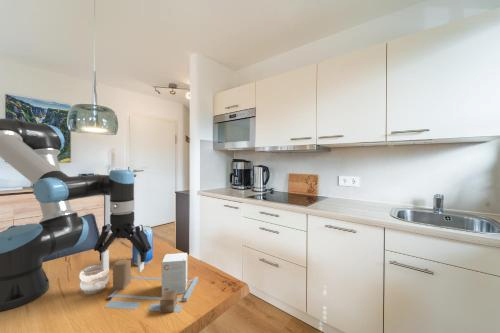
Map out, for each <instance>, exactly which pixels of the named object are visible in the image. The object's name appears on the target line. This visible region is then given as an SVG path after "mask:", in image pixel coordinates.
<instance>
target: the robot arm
mask: <svg viewBox="0 0 500 333" xmlns="http://www.w3.org/2000/svg"><path fill="white" fill-rule="evenodd" d="M65 142H66V141H65V136H64V134H63V133H62V131H61V130H60V129H59V128H58V127H56V126H55V125H52V124H47V123H42V122H32V121H25V120H19V119H13V118H0V158H1V159H2V160H3V161H5V162H6V163H7V164H8V165H9V166H11V167H12V168H13V169H14V170H15V171H17V172H18V173H20V174H21V175H22V176H23V177H24V178H25V179H26V180H28V181H29V182H31V183H32V184H33V188H32V192H33V196H35V200H36V201H38V202H39V207H40V210H41V214H42V218H41V219H40V220H39V222H38V223H37V222H36V223H27V224H21V225H20V224H19V225H16V226H13V227H10V228H7V229H4V230H2V231H0V312H1V311H2V312H3V311H7V310H11V309H15V308H17V307H21V306H23V305H26V304H28V303H30V302H33V301H34V300H37V299H38V298H40V297H41V296H43V295H44V294H46V293H47V292H48V291H49V288H50V280H49V278H48V276H47V274H46V272H45V270H44V269H43V268H44V267H43V259H44V258H46V257H50V256H52V255H55V254H58V253H60V252H64V251H66V250H69V249H73V248H75V247H77V246H79V245H81V244H82V243H83V242H85V241H86V239H87V237H88V234H89V232H90V230H89V228H90V227H89V223H88V221H87V219H85V217H83V216H79V215H78V212H77V211H75V210H73V209H72V208H71V204H70V201H71V200H76V199H83V198H84V199H85V198H90V197H97V196H109V211H110V212H109V213H110V214H109V223H110V224H109V223H107V224H105V225H102V227H101V233H100V235H99V237H98V239H97V242H96V244H95V246H94V247H93V251H94V252H96V251H97V252H98V253H99V261H100V262H101V272H104V271H105V270H107V269H109V268H110V250H109V249H108V248H109V247H110V245H111V244H112V243H113V242H114V241H115V240H116V239H122V240H123V239H127V241H129V242H130V243H131V245H132V246H133V245H134V246H135V248H136V249H137V250H138V251H139V254H138V266H137V273H141V272H142V271H143V270H144V269H145V265H144V261H145V260H146V252H148V251H149V250H150V249H151V246H150V243H149V241H148V239H147V237H146V235H145V233H144V231H143V226H144V225H143V224H139V225H135V224H134V223H135V177H134V171H133V170H131V169H112V170H110V171H109V173H108V174H99V173H98V174H97V173H95V174H88V175H75V176H68V175H67V174H66V173H64V172H63V171H62V170H61V167H60V163H59V160H58V156H59V155H60V154H61V151H62V150H63V149H64V147H65ZM134 231H135V232H136V234H137V236H138V238H139V239H138V238H137V236H136V234H135V232H134ZM110 232H112V233H111V234H110V235H109V233H110ZM108 236H109V237H108ZM107 237H108V238H107Z"/></svg>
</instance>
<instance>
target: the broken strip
mask: <svg viewBox="0 0 500 333" xmlns="http://www.w3.org/2000/svg"><path fill="white" fill-rule="evenodd" d="M140 304H141V302H136V301H135V302H134V301H122V300H121V301H120V300H119V301H118V300H110V301H109V302H108V303H107V304H106V305H105V306H104V308H106V309H107V308H108V309H109V308H110V309H122V310H124V309H125V310H136V309H137V308H138V307H139V306H140ZM183 306H184V305H182V304H176V307H175V310H174V312H173V313H180V312H181V310H182V308H183ZM147 311H154V312H155V311H157V312H160V303H154V302H153V303H152V304H151V305H150V306H149V308H147Z"/></svg>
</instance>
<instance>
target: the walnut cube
mask: <svg viewBox="0 0 500 333" xmlns="http://www.w3.org/2000/svg"><path fill="white" fill-rule="evenodd" d="M177 298H178V294H177V291H170V292H164V293H163V295H162V294H161V300H159V301H160V302H159V304H160V311H159V314H162V313H163V314H165V313H166V314H167V313H175V312H174V310H175V307H176V305H178V304H177V302H178V301H177Z"/></svg>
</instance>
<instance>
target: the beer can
mask: <svg viewBox="0 0 500 333" xmlns="http://www.w3.org/2000/svg"><path fill="white" fill-rule="evenodd" d="M142 226H143V231H144V233H145V235H146V237H147V239H148V241H149V243H150V246H151V249H150V250H149V251H148V252H146V260H145V261H144V266H145V265H148V264H150V263H151V261H152V260H153V257H154V231H153V229H152V226H150V225H142ZM134 232H135V230H134ZM135 234H136V232H135ZM136 236H137V234H136ZM137 238H138V236H137ZM138 239H139V238H138ZM138 254H139V251H138V250H137V249H136V248H135V246H134V245H133V244H132V254H131V255H132V259H131V261H132V262H131V263H133V264H134V265H135V266H137V267H138Z"/></svg>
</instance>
